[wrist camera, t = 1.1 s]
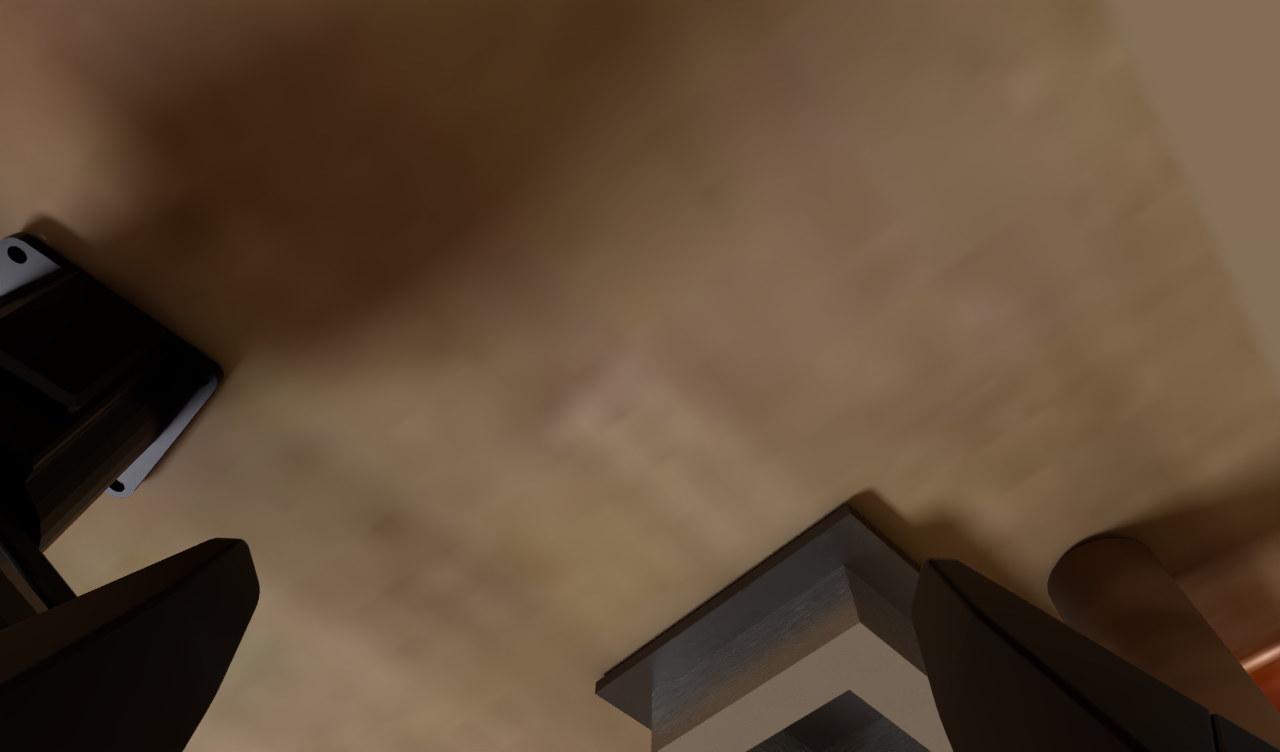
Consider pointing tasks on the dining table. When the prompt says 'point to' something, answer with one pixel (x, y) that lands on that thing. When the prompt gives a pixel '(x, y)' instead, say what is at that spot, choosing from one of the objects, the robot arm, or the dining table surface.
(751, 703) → the steel socket
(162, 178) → the dining table surface
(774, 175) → the dining table surface
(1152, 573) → the walnut peg
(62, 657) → the robot arm
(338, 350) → the dining table surface
